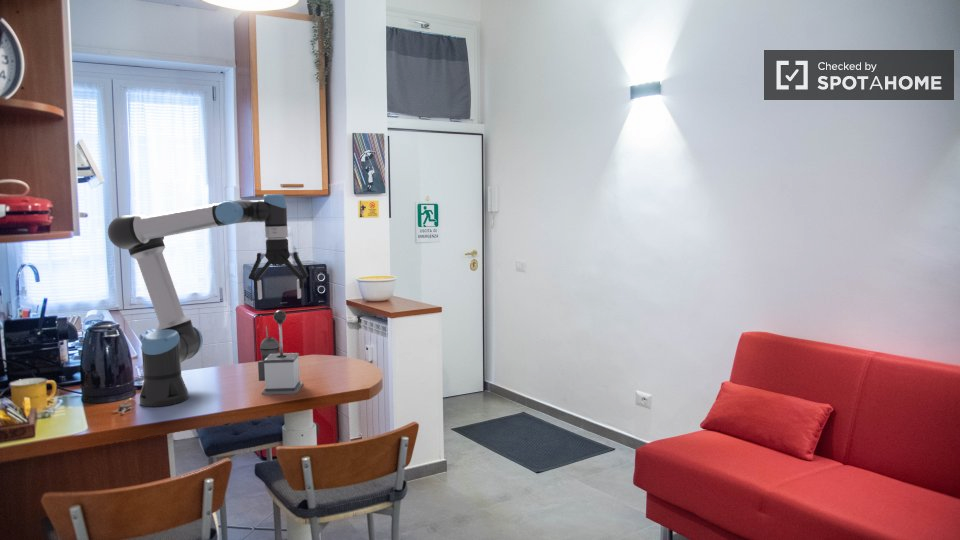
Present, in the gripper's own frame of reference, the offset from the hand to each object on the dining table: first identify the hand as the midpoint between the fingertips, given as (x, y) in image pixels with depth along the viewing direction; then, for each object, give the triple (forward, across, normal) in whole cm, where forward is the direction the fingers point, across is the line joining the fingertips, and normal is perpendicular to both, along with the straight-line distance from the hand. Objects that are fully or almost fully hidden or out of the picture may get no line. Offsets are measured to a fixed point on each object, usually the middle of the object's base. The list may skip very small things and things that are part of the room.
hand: (279, 298), depth 242 cm
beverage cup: (+33, -8, +17) cm, 38 cm away
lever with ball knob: (+24, 0, 0) cm, 24 cm away
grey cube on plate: (+33, -2, 0) cm, 33 cm away
